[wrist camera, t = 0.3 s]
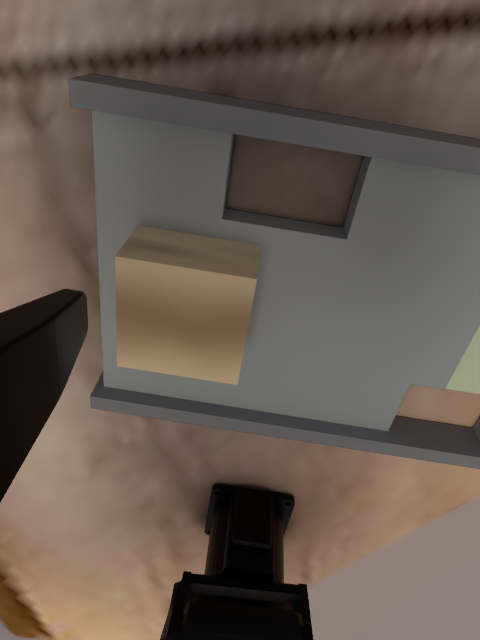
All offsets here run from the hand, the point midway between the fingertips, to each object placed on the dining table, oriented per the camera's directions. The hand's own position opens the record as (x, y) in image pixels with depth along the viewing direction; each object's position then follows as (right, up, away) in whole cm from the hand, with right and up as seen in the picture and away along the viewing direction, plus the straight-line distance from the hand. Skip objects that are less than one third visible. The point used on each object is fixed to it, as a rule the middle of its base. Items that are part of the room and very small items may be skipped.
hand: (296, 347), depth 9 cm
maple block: (-4, +2, +14) cm, 14 cm away
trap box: (+4, +2, +15) cm, 16 cm away
